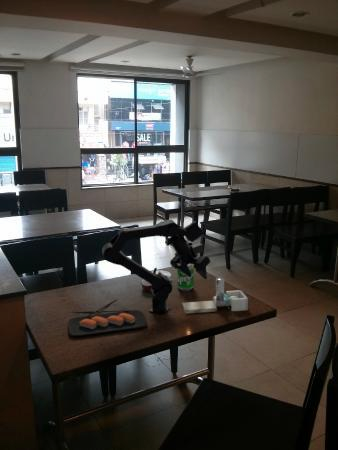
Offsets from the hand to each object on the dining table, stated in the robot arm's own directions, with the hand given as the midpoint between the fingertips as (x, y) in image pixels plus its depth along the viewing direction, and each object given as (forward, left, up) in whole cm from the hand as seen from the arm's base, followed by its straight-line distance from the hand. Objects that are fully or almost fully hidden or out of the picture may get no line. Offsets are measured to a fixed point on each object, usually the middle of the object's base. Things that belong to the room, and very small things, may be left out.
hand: (198, 277), depth 169 cm
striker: (+2, -9, -10) cm, 14 cm away
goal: (+6, -15, -12) cm, 20 cm away
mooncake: (+18, +28, -13) cm, 36 cm away
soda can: (+14, +12, -13) cm, 23 cm away
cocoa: (+4, +26, -13) cm, 29 cm away
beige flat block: (-3, -2, -12) cm, 13 cm away
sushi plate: (-26, +29, -13) cm, 41 cm away
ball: (+5, -14, -10) cm, 18 cm away
